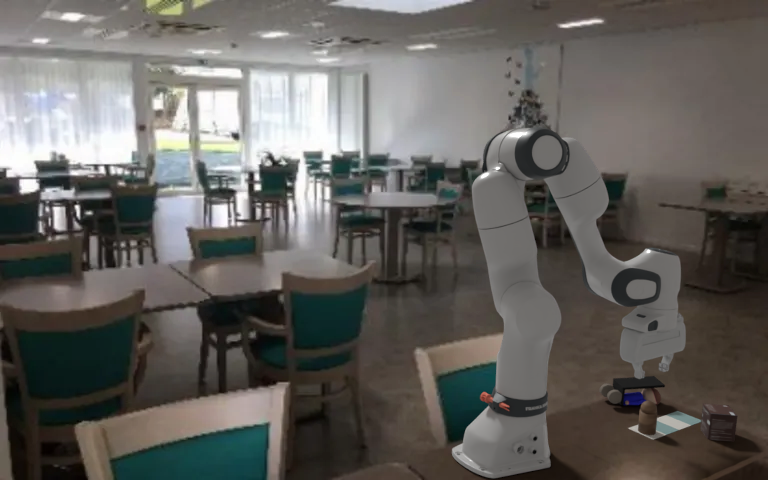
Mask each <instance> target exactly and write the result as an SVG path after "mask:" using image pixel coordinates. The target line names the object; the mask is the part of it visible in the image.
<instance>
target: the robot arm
mask: <svg viewBox="0 0 768 480" xmlns="http://www.w3.org/2000/svg"><path fill="white" fill-rule="evenodd" d="M482 162H483V163H482V165H481V166H482V167H481V171H482V173H481V174H479V175H478V176H477V177H476V178H475V180H474V181H473V182H472V185H471V195H472V196H471V197H472V207H473V215H474V218H475V223H476V226H477V230H478V236H479V238H480V242H481V245H482V249H483V252H484V257H485V261H486V265H487V272H488V277H489V284H490V289H491V294H492V299H493V304H494V308H495V310H496V312H497V313H498V314H499V316H500V317H501V318H502V321H503V333H502V339H501V344H500V346H499V350H498V352H497V354H496V368H495V369H496V372H495V373H496V374H495V386H494V388H492V389H493V390H492V393H491V394H489V393H487V392H486V391H483V392H482V393H481V394H480V395H479V400H480V401H482V402H485V403H486V404H488V406H486V408H484V410H483V411H482V412H481V413H479V415H478V416H477V417H475V419H474V420H473V421H472V422H471V423H470V424H468V426H466V428H465V431H464V434H463V441H462V443H460V444H458V445H456V446H454V447H452V448H451V454H452V455H451V456H452V457H453V458H454V460H455V461H456V462H458V463H459V464H460V465H461V466H462V467H464V468H466V469H467V470H469V471H471V472H472V473H474V474H476V475H478V476H479V475H480V476H482V477H485V478H489V479H498V478H502V477H503V478H504V477H508V476H513V475H517V474H523V473H528V472H532V471H538V470H544V469H549V468H550V467H551V463H552V462H551V459H550V456H551V449H550V447H549V440H548V439H549V437H548V436H549V435H548V426H547V417H546V412H547V410H548V404H549V392H548V391H547V383H548V371H549V370H548V369H549V368H548V367H549V359H550V354H551V349H552V346H553V343H554V339H555V335H556V333H557V332H558V331H559V329H560V327H561V324H562V313H561V312H562V311H561V308H560V307H559V304H558V302H557V300H556V299H555V297H554V296H553V294H551V292H549V291H548V290H547V289H545V288H544V287H543V285H542V283H541V280H540V276H539V270H538V269H539V268H538V259H537V258H538V255H537V254H538V248H537V247H538V246H537V243H536V240H535V235H534V232H533V227H532V223H531V219H530V215H529V212H528V208H527V205H526V202H525V186H526V182H527V181H532V180H533V181H534V180H536V181H537V180H543V181H544V182H545V184H546V185H547V187H548V189H549V191H550V194H551V195H552V198H553V200H554V201H555V204H556V206H557V207H558V210H559V212H560V213H561V215H562V217H563V219H564V221H565V224H566V227H567V229H568V232H569V234H570V238H571V240H572V242H573V244H574V247H575V250H576V251H577V254H578V256H579V260H580V264H581V272H582V273H581V275H582V276H581V277H582V282H583V284H584V285H583V286H585V289H587V291H588V292H589V293H591V294H592V295H595V296H597V297H600V298H604V299H606V300H608V301H610V302H612V303H614V304H616V305H619V306H621V307H626V308H627V307H628V308H633V307H635V308H634V309H632V311H631V312H629V313H628V314H626V315H625V316H623V317H622V319H621V326H622V327H624V328H623V329H622V331H621V336H620V344H619V355H620V358H621V359H622V361H624V362H626V363H627V362H628V363H630V364H631V365H632V368H633V371H634V374H633V375H634V377H635V378H638V379H641V378H644V377H646V375H645V374H646V371H645V370H643V365H644V362H645V361H649V360H653V359H656V358H660V357H662V359H661V362H659V363H658V371H659V372H662V373H666V372H669V370H670V365H671V362H672V360H673V358H674V355H675V353H679V352H683V351H684V350H685V347H686V342H687V339H686V338H687V337H686V336H687V335H686V334H687V331H686V330H687V329H686V324H685V323H684V320H685V319H684V316H683V315H682V314H681V313H680V312H679V302H678V295H679V292H680V290H681V279H682V270H681V269H682V267H681V259H680V257H679V255H678V254H676V253H675V252H672V251H670V250H665V249H661V248H657V247H647V248H645V249H644V250H643V251H642V252H641V253H640V254H639V255H637V256H635V257H633V258H631V259H629V260H625V261H623V260H620V259H618V258H616V257H615V256H613V255H612V254H611V253H610V252H609V251H608V250H607V248H606V246H605V244H604V241H603V238H602V236H601V233H600V231H599V228H598V226H597V219H599V218H600V217H601V216H602V215H604V214H605V211H607V208H608V205H609V202H610V199H609V193H608V190H607V187H606V184H605V181H604V180H603V177H602V176H601V172H599V169H598V167H597V165H596V164H595V162H594V160H593V158H592V156H591V155H590V153H588V151H587V150H586V149H585V147H584V146H583V144H582V143H581V142H580V141H579V140H578V139H576V138H574V137H570V136H569V137H567V136H566V137H561V135H559V134H558V133H557V132H555V131H553V130H552V129H549V128H546V127H541V126H535V127H518V128H513V129H509V130H504V131H501V132H498V133H497V134H495V135H493V136H492V137H491V138H489V140H488V141H487V143H486V144H485V147H484V149H483V154H482Z"/></svg>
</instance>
